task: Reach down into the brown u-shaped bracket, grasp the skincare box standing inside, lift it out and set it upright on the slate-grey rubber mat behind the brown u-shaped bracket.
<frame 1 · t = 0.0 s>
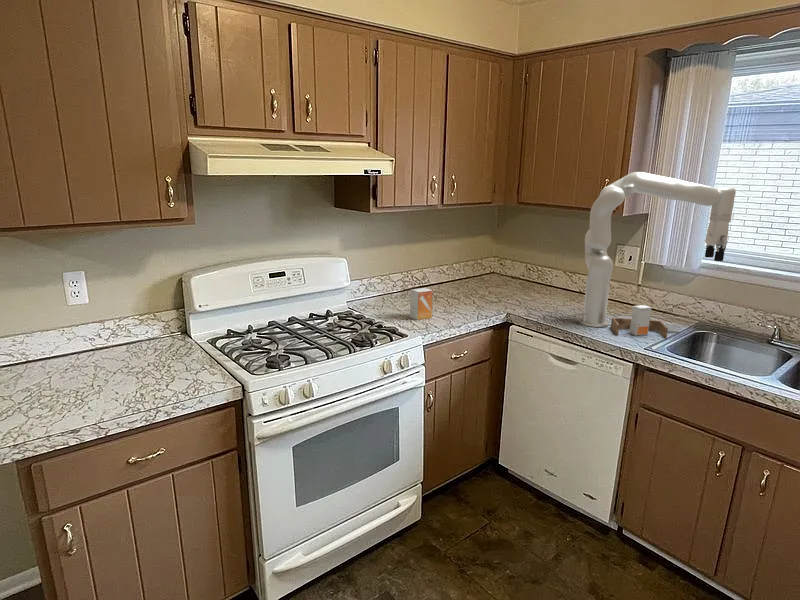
hand: (713, 259, 219), 31 cm above the worktop, tool pointing down, fingers open, 9 cm apart
mat: (664, 329, 227), on the worktop
brown u-shaped bracket: (637, 333, 220), on the worktop
small box: (420, 317, 238), on the worktop
skincare box: (638, 334, 219), resting in brown u-shaped bracket
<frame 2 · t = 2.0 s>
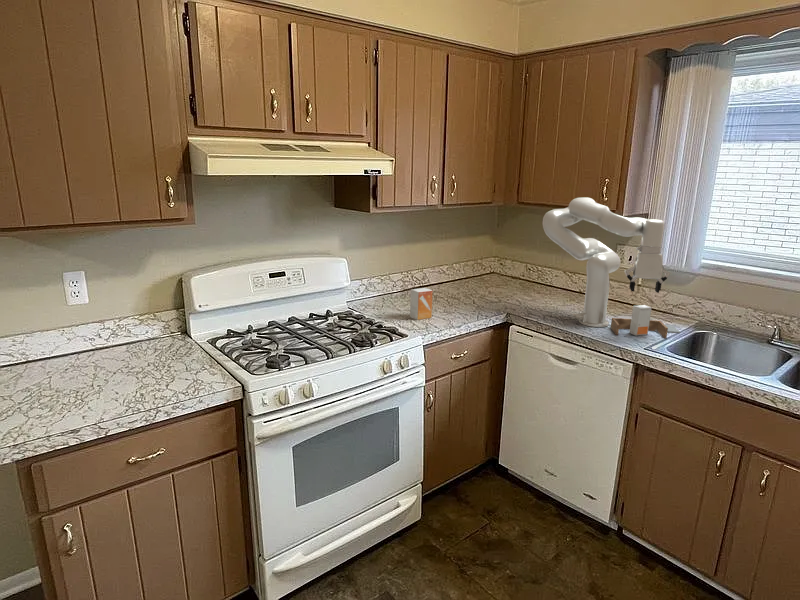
hand: (644, 291, 215), 18 cm above the worktop, tool pointing down, fingers open, 9 cm apart
nothing on the worktop moved.
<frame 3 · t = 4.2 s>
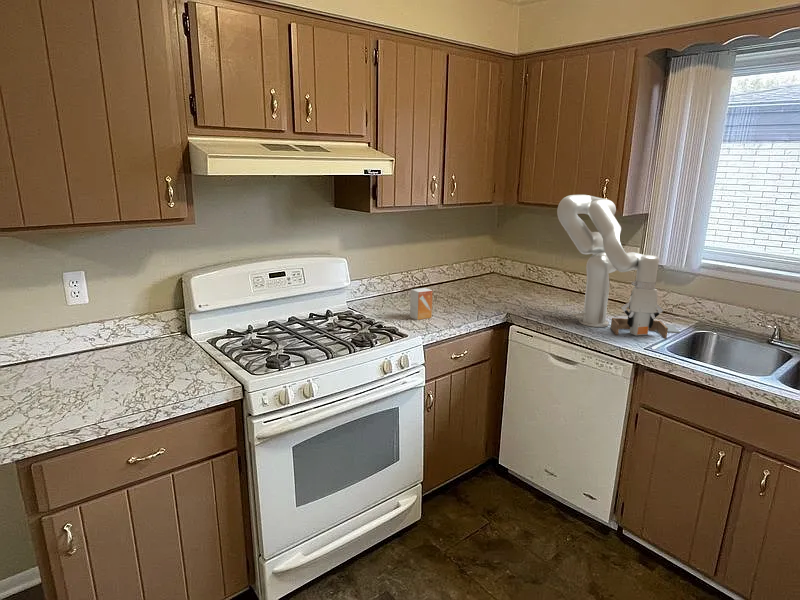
hand: (639, 326, 218), 3 cm above the worktop, tool pointing down, fingers closed on skincare box, 7 cm apart
skincare box: (638, 334, 219), resting in brown u-shaped bracket, touching gripper
everything else where it was.
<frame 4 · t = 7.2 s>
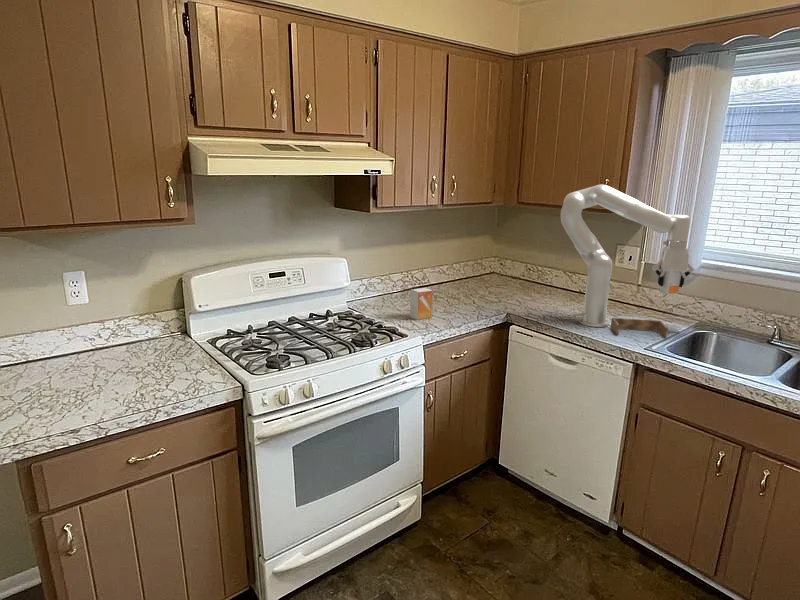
hand: (670, 285, 222), 19 cm above the worktop, tool pointing down, fingers closed on skincare box, 7 cm apart
skincare box: (669, 293, 223), point 16 cm above the worktop, touching gripper
everything else where it was.
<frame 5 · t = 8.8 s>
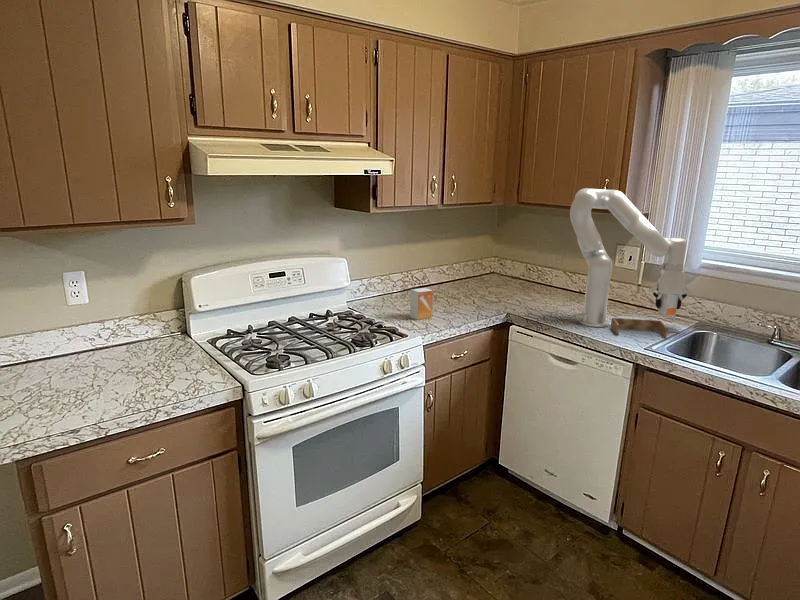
hand: (667, 307, 224), 10 cm above the worktop, tool pointing down, fingers closed on skincare box, 7 cm apart
skincare box: (666, 315, 225), point 6 cm above the worktop, touching gripper
everything else where it was.
when the fingers open (5 cm above the worktop, at t = 10.2 s): skincare box drops 1 cm, resting on mat.
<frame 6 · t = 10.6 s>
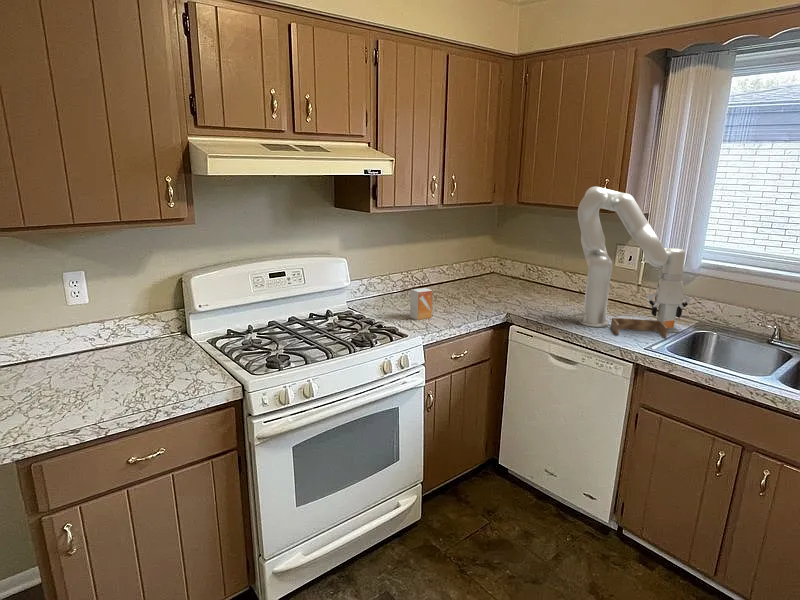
hand: (665, 316, 225), 6 cm above the worktop, tool pointing down, fingers open, 9 cm apart
skincare box: (664, 328, 227), resting on mat
everything else where it was.
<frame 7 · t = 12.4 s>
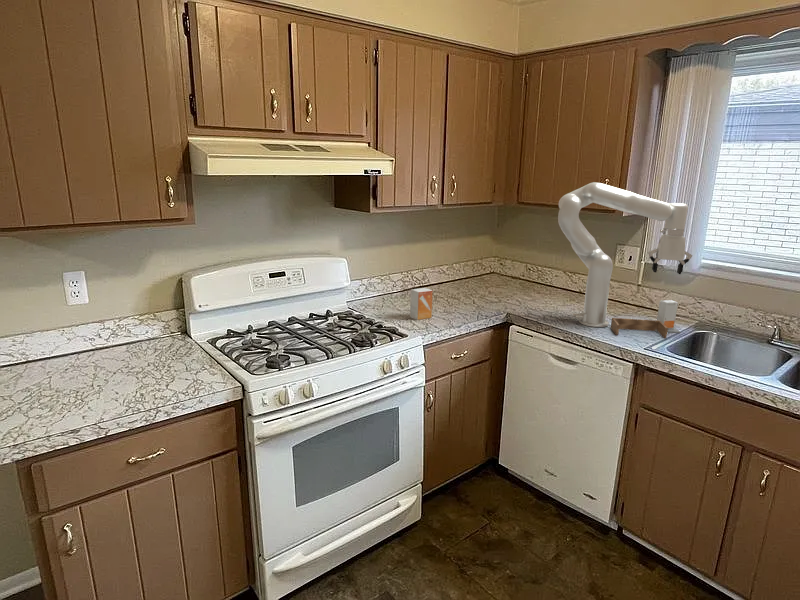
hand: (666, 272, 223), 24 cm above the worktop, tool pointing down, fingers open, 9 cm apart
nothing on the worktop moved.
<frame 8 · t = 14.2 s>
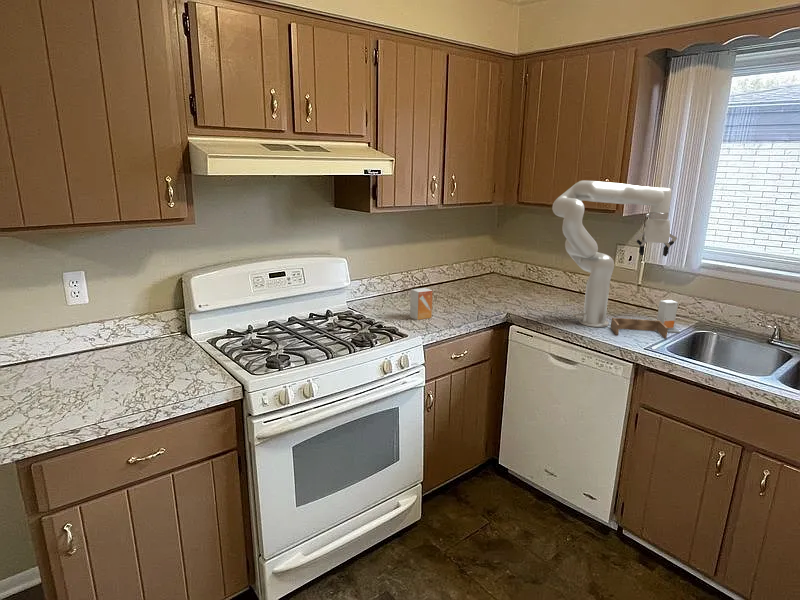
hand: (653, 255, 232), 30 cm above the worktop, tool pointing down, fingers open, 9 cm apart
nothing on the worktop moved.
at the end: skincare box inside the target area on the mat (0.2 cm from its centre), point 0.4 cm above the mat's base; skincare box tilted 0°; the gripper is holding nothing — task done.
